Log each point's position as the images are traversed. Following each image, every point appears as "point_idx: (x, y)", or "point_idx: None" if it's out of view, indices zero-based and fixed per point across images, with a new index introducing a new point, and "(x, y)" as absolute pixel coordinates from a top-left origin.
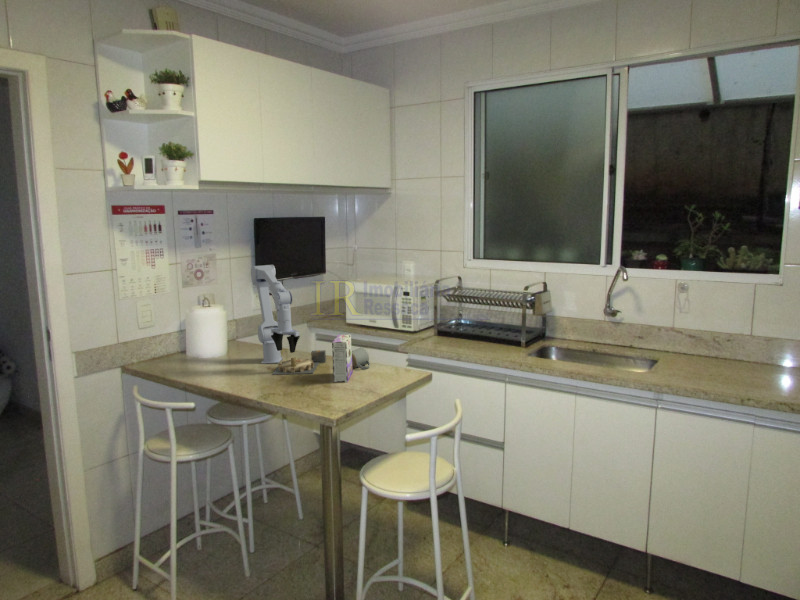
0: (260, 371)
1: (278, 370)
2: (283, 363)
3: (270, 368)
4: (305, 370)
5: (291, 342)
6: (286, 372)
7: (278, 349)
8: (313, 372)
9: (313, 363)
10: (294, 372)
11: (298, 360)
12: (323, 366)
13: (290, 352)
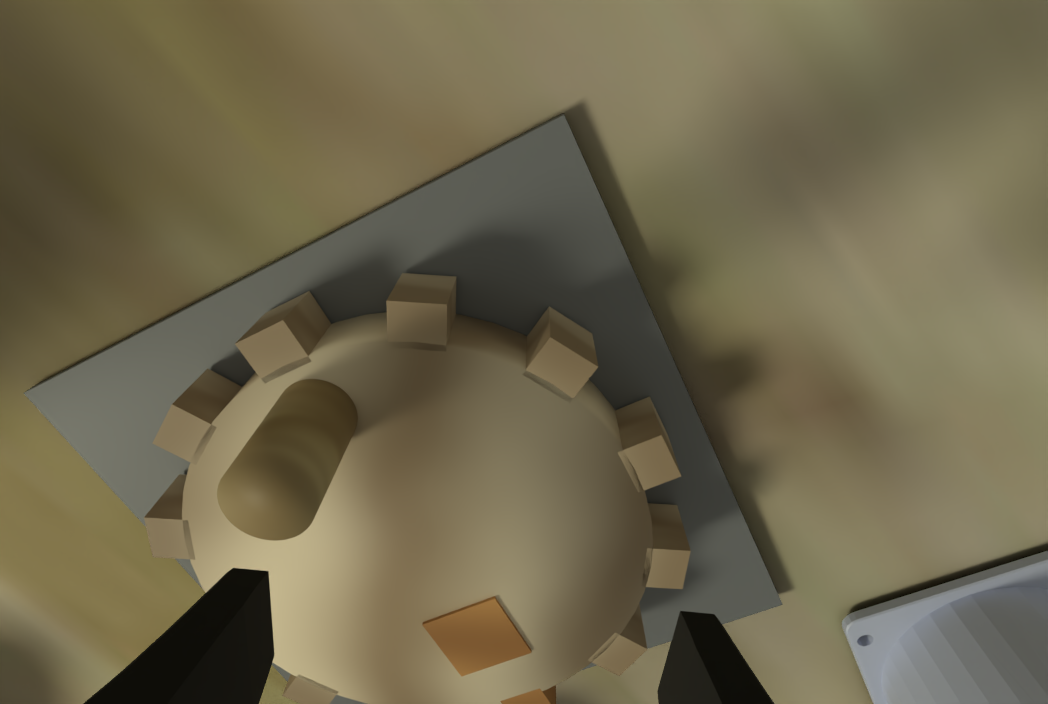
0: (891, 215)
1: (593, 323)
2: (601, 487)
3: (817, 403)
4: None
5: None
6: (393, 277)
7: (686, 641)
8: (71, 433)
9: None
10: None
11: (482, 657)
12: None
13: (262, 573)
